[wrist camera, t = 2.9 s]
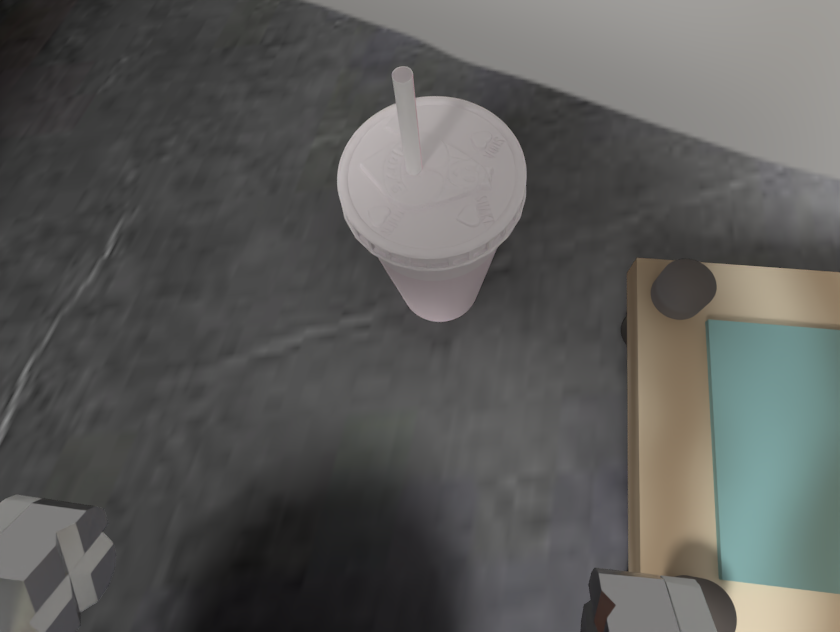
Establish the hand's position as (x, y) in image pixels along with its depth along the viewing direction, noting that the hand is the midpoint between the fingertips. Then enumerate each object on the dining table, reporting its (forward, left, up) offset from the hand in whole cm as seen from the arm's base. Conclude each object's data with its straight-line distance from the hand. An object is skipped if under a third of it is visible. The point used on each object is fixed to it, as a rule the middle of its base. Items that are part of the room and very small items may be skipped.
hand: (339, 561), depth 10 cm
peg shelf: (+15, +5, -16) cm, 22 cm away
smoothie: (0, +12, -16) cm, 20 cm away
